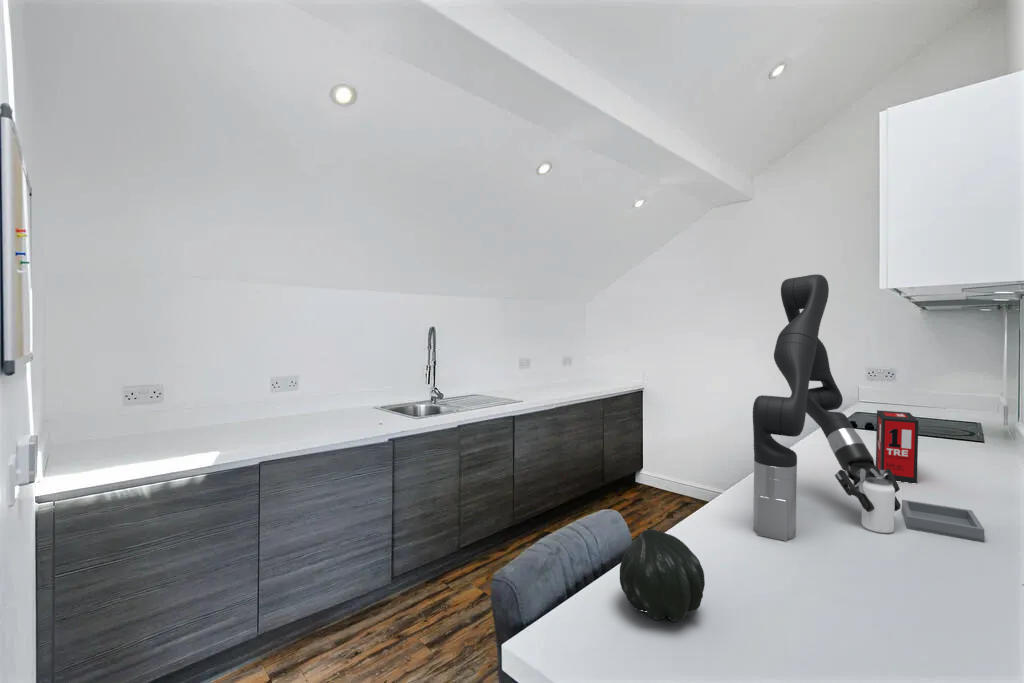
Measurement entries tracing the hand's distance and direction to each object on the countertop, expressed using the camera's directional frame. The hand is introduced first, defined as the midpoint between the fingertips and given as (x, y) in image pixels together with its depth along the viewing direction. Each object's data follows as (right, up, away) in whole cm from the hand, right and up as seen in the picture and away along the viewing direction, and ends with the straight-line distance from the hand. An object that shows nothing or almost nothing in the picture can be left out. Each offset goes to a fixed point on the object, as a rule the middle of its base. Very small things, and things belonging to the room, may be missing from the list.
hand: (884, 509), depth 120 cm
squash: (-64, -7, -31) cm, 71 cm away
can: (0, -6, +2) cm, 6 cm away
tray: (+17, -5, +4) cm, 18 cm away
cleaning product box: (+37, -4, +44) cm, 58 cm away
